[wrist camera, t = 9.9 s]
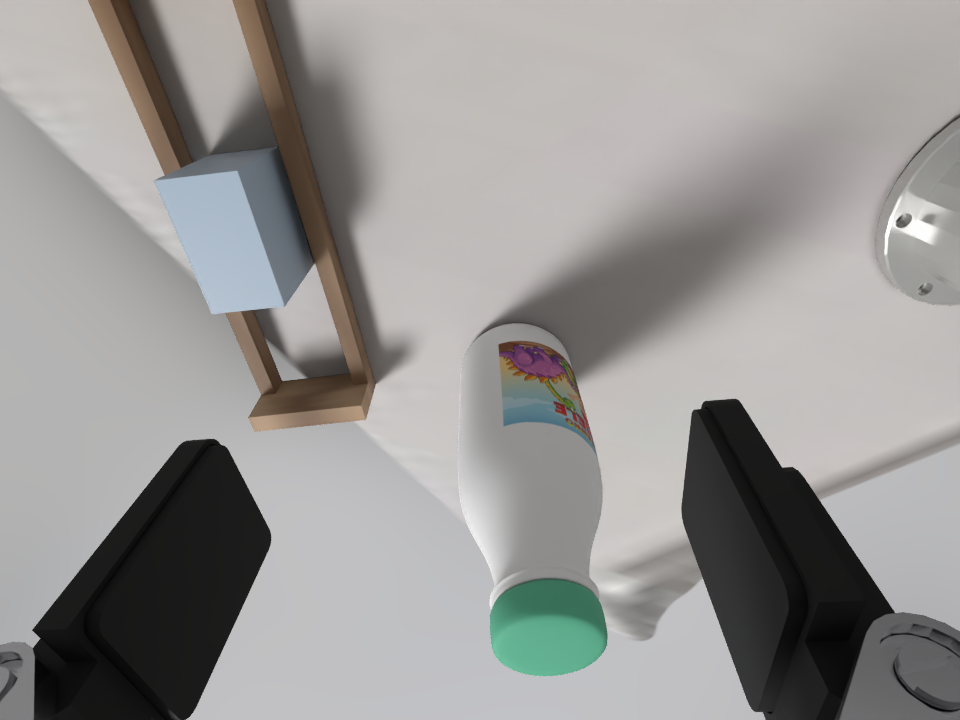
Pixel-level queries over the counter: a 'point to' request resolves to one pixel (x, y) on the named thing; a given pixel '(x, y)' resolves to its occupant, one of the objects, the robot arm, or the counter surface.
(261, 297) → the pale blue upright box
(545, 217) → the counter surface
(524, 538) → the milk bottle
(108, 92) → the counter surface
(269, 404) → the bottom track
